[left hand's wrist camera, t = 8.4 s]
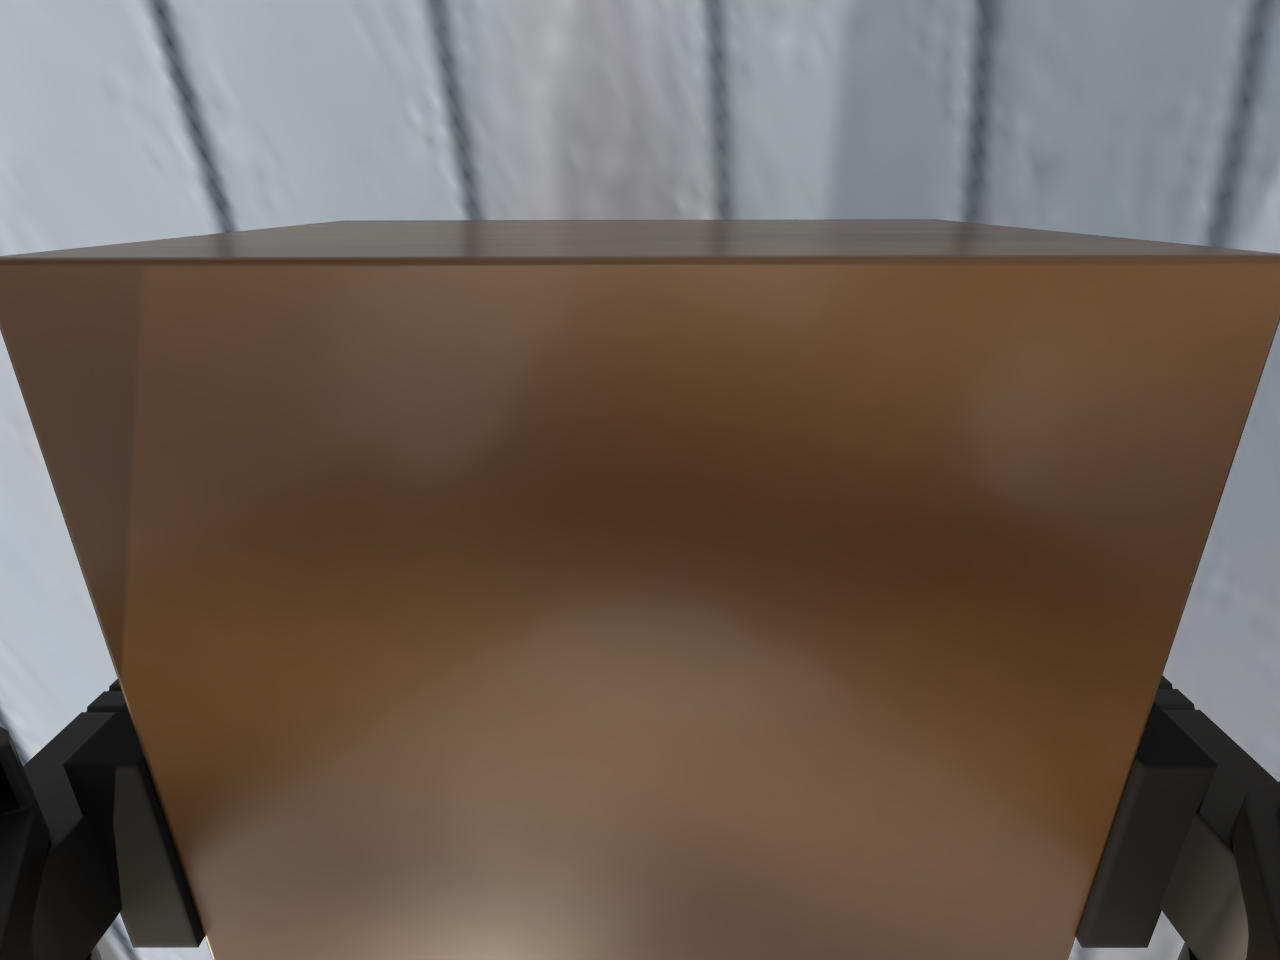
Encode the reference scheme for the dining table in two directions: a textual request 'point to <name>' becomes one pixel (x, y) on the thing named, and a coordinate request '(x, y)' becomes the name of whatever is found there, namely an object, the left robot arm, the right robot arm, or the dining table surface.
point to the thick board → (639, 568)
